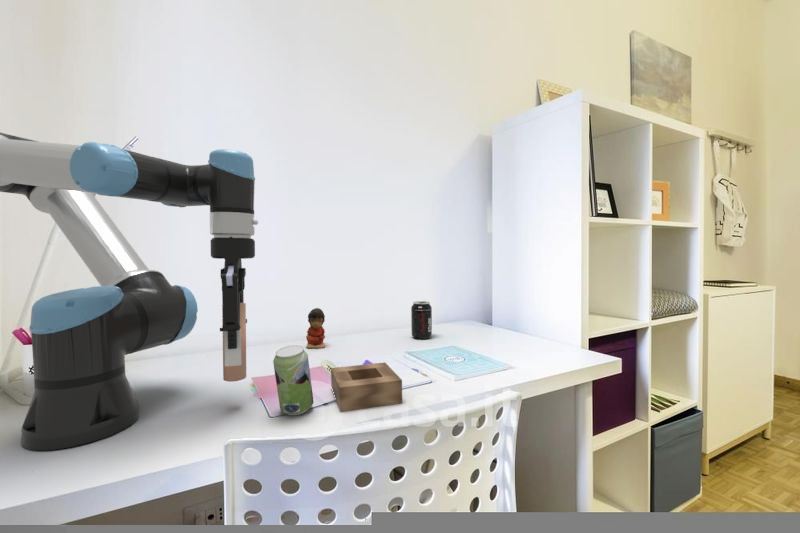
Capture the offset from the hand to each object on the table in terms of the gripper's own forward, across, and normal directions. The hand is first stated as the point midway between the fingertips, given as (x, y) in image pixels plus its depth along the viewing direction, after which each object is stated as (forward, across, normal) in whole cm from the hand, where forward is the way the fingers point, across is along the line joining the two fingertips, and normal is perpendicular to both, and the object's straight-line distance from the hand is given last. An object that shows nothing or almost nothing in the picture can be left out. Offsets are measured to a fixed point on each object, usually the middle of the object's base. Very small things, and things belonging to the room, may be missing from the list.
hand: (234, 361), depth 71 cm
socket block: (+8, -2, -25) cm, 26 cm away
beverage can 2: (+9, +41, -54) cm, 68 cm away
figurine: (+9, +41, -19) cm, 46 cm away
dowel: (+3, 0, 0) cm, 3 cm away
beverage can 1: (+9, -6, -11) cm, 15 cm away
